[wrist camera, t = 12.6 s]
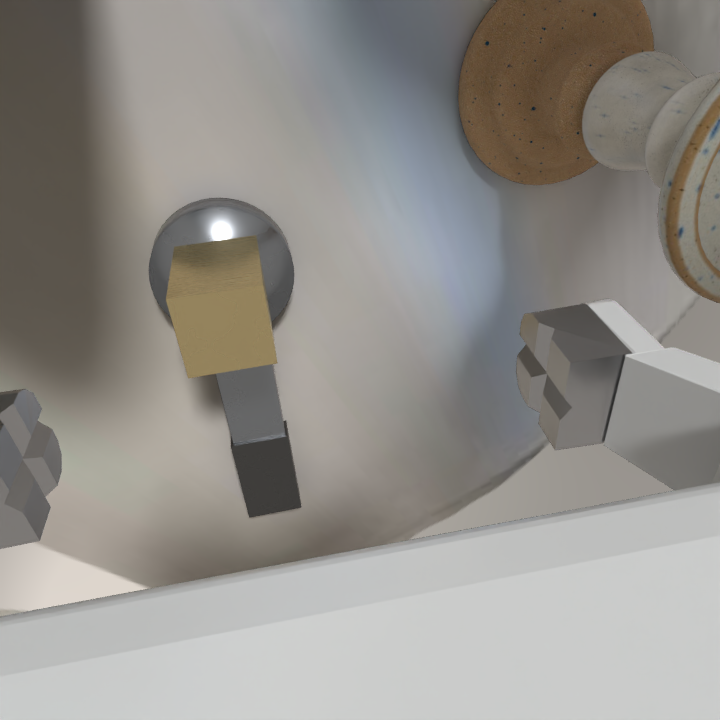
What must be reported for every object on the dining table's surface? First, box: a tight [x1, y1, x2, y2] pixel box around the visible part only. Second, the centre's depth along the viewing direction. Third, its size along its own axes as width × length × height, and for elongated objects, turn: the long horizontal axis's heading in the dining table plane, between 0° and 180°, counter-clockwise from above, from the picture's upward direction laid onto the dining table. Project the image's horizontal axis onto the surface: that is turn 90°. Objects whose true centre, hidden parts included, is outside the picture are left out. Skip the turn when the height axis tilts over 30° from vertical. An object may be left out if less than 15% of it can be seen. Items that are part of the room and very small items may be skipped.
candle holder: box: [458, 0, 720, 303], centre depth 29 cm, size 12×12×20 cm
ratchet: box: [149, 198, 301, 517], centre depth 43 cm, size 26×9×5 cm, turn 4°
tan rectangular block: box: [166, 235, 277, 378], centre depth 35 cm, size 5×5×7 cm
